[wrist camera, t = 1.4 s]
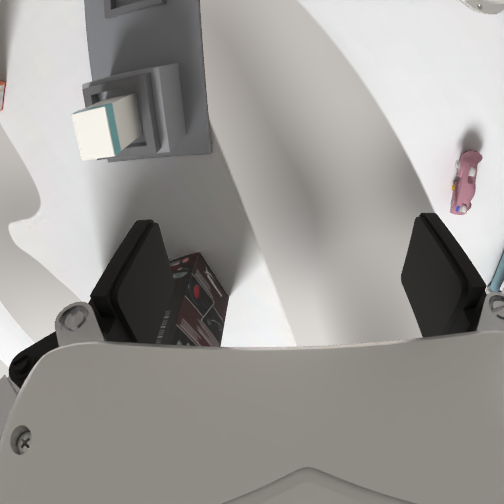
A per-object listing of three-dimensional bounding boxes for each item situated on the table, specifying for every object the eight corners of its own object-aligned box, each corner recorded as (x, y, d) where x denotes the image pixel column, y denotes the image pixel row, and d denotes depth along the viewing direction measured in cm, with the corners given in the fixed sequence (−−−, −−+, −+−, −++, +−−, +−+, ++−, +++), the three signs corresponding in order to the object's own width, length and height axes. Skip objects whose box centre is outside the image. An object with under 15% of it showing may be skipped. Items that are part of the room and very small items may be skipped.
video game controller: (455, 143, 37) (458, 156, 32) (481, 150, 35) (488, 165, 30) (445, 199, 43) (445, 219, 38) (469, 206, 41) (472, 227, 36)
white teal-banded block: (105, 98, 29) (70, 114, 23) (136, 92, 28) (104, 106, 23) (112, 138, 32) (81, 161, 26) (142, 134, 32) (115, 156, 26)
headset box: (201, 248, 51) (141, 446, 25) (233, 298, 58) (203, 474, 32) (102, 280, 59) (34, 421, 33) (136, 319, 65) (88, 453, 39)
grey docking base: (87, -43, 21) (47, -52, 14) (196, -76, 20) (173, -101, 12) (111, 159, 42) (79, 188, 35) (211, 151, 41) (195, 180, 33)
